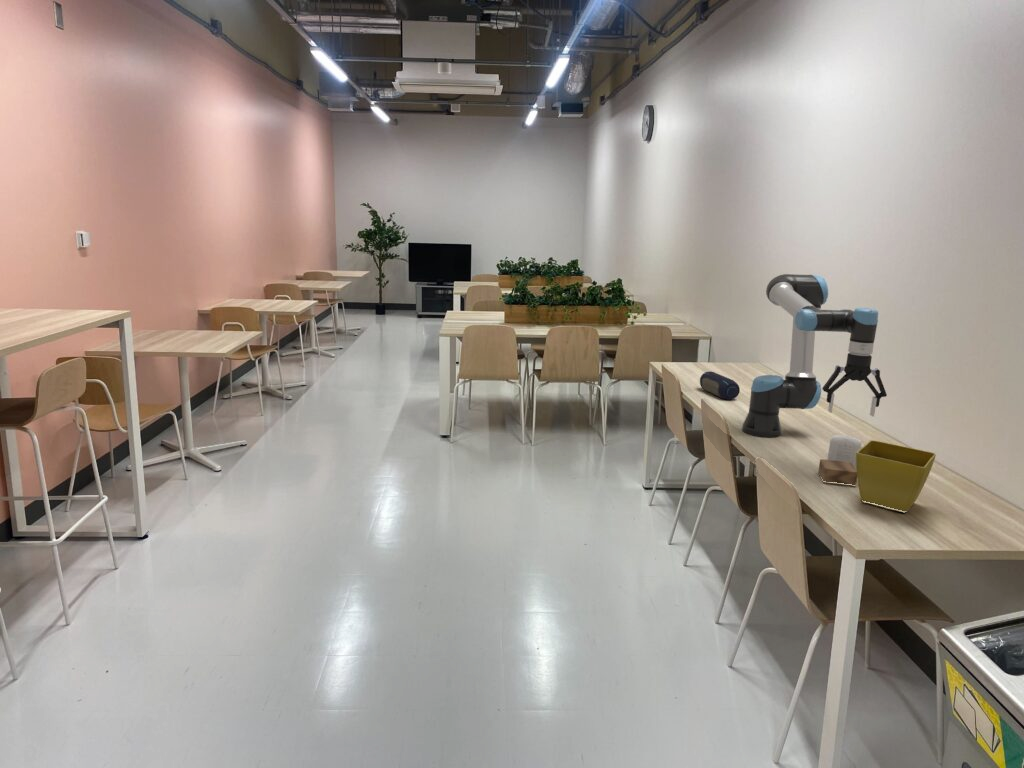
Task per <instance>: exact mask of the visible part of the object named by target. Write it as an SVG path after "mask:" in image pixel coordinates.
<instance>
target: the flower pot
mask: <svg viewBox="0 0 1024 768" xmlns="http://www.w3.org/2000/svg"><path fill="white" fill-rule="evenodd" d="M936 457H937V454H936V453H935V452H932V451H927V450H923V449H917V448H912V447H908V446H904V445H898V444H893V443H888V442H884V441H880V440H874V439H873V440H872V439H871V440H869V441H868V442H866V444H864V445H862V448H861V449H859V450H858V451H857V452H856V470H857V479H856V481H857V485H858V490H859V491H858V492H859V496H860V501H861V500H863V501H866V502H870V503H875V504H878V505H883V506H886V507H890V508H894V509H898V510H902V511H908V512H909V510H910V509H911V508H912V507H913V505H914V504H915V503H914V502H916V501H917V499H918V498H919V496H920V493H921V492H922V490H923V489H924V486H925V484H926V482H927V480H928V478H929V475H930V473H931V470H932V467H933V465H934V461H935V459H936ZM911 506H912V507H911ZM910 507H911V508H910Z"/></svg>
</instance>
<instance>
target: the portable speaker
mask: <svg viewBox="0 0 1024 768" xmlns="http://www.w3.org/2000/svg"><path fill="white" fill-rule="evenodd" d="M699 386H700V387H701V389H703V390H705V391H707V392H709V393H710V394H713V395H714V396H717V397H719V398H721V399H724V400H726V399H727V401H728V400H729V401H730V400H733V399H736V398H737V397H738V396H739V394H740V391H741V390H740V385H739V384H738V382H736V381H735V380H734V379H731V378H729V377H727V376H724V375H722V374H720V373H716V372H715V371H706V372H704V373H702V374H701V376H700V377H699Z"/></svg>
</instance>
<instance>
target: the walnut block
mask: <svg viewBox="0 0 1024 768" xmlns="http://www.w3.org/2000/svg"><path fill="white" fill-rule="evenodd" d="M817 472H819V473H818V475H819V474H820V475H819V477H820V476H821V477H822V479H823V481H826V482H837V483H844V484H852V485H856V484H857V471H856V469H855V468H854V466H853V464H852V463H851V462H842V461H833V460H827V459H822V458H820V459H819V466H818V471H817ZM821 477H820V478H821ZM822 479H821V480H822ZM823 481H822V482H823Z"/></svg>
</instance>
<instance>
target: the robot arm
mask: <svg viewBox="0 0 1024 768" xmlns="http://www.w3.org/2000/svg"><path fill="white" fill-rule="evenodd" d="M765 295H766V297H767V299H768V301H769V302H770V303H772V304H773V305H775V306H779V307H780V308H782V309H783V310H784V311H786V313H788V314H789V315H790V316H792V317H793V319H792V330H791V331H792V332H791V344H790V345H791V347H790V348H791V349H790V361H789V371H788V372H787V373H786V374H785V378H783V377H782V376H781V375H778V374H777V375H773V374H765V375H759V376H756V377H755V378H754V379H753V380H752V384H751V387H750V391H751V392H750V399H749V400H750V401H749V406H748V407H749V409H748V412H747V415H746V417H745V419H744V421H743V423H742V427H741V430H742V431H743V432H744V433H746V434H748V435H752V436H754V437H755V436H756V437H760V438H761V437H762V438H776V437H779V436H781V435H782V426H781V422H780V415H779V414H780V409H793V410H794V409H795V410H796V409H797V410H806V409H813V408H815V407H816V406H817V405H818V404H819V402H820V400H821V395H822V390H823V392H825V393H827V395H826V402H827V403H828V409H827V410H828V412H829V413H833V407H834V400H835V392H836V391H837V390H838V389H839V388H840V387H842V385H844V384H845V383H846V382H848V381H849V380H851V381H853V382H854V381H858V382H862V381H864V382H865V383H866V385H867V386H868V388H869V389H870V390H871V392H872V393H873V394H874V396H872V398H871V404H870V405H871V406H870V412H869V415H870V417H875V413H876V408H879V406H880V403H881V398H885V397H887V395H888V394H887V392H886V389H885V386H884V384H883V381H882V379H881V370H880V369H878V368H876V367H875V368H874V369H871V364H872V359H873V358H872V354H873V352H874V343H875V338H876V334H877V328H878V323H879V319H878V318H879V311H878V310H877V309H875V308H868V307H867V308H866V307H857V308H854V310H852V309H844V308H843V309H839V310H838V309H837V310H836V309H822V305H824V304H826V302H827V299H828V298H829V287H828V283H827V281H826V280H825V278H824V277H822V275H821V276H820V275H817V274H816V275H815V274H789V273H788V274H787V273H784V274H780V275H777V276H776V277H774V278H772V279H771V280H770V281H769V282H768V283H767V286H766V290H765ZM816 332H832V333H833V332H834V333H835V332H836V333H837V332H839V333H848V334H850V336H849V337H850V338H849V343H848V349H847V352H848V353H847V356H846V363H845V367H844V366H840V365H835V367H834V371H833V372H832V374H831V376H830V377H829V378H828V380H827V381H826V382H825V383H824V385H823V387H821V383H820V381H819V380H817V376H816V375H815V374H814V373H813V367H814V352H815V337H816ZM843 371H844V373H845V374H843V376H841V378H840V379H838V381H836V379H837V378H838V376H839V375H840V374H841V373H843ZM870 374H872V375H873V376H874V380H875V381H876V384H877V386H878V389H879V391H880V392H879V391H878V390H877V389H876V387H875V386H874V384H873V383H872V381H871V380H870V379H869V378H868V376H870ZM835 381H836V382H835ZM834 382H835V383H834ZM833 383H834V384H833ZM832 384H833V385H832Z"/></svg>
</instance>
